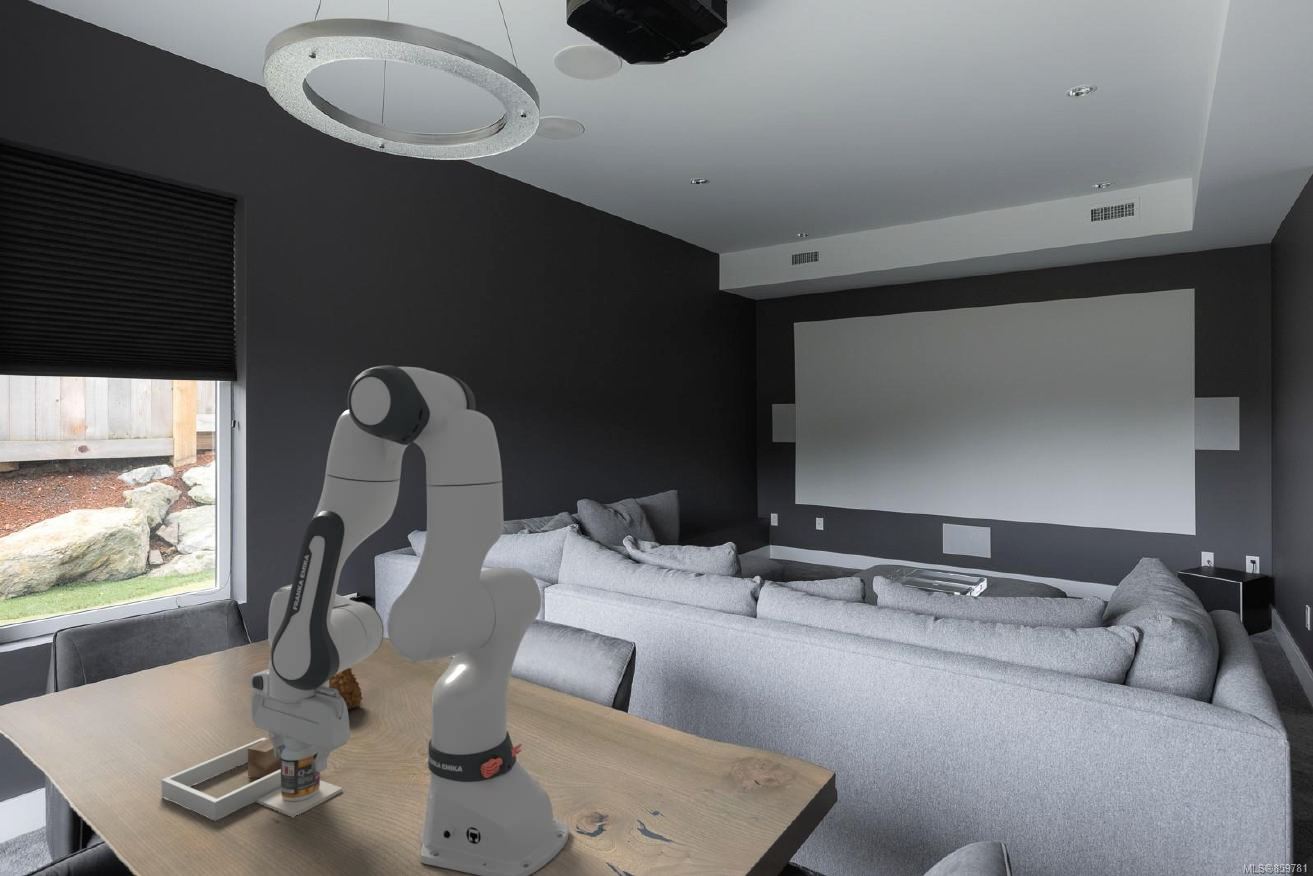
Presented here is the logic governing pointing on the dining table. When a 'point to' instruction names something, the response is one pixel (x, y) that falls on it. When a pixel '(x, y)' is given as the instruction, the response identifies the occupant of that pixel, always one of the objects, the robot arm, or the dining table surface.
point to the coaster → (300, 806)
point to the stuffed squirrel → (347, 688)
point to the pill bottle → (298, 771)
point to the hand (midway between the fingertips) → (300, 763)
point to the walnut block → (262, 760)
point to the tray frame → (201, 802)
